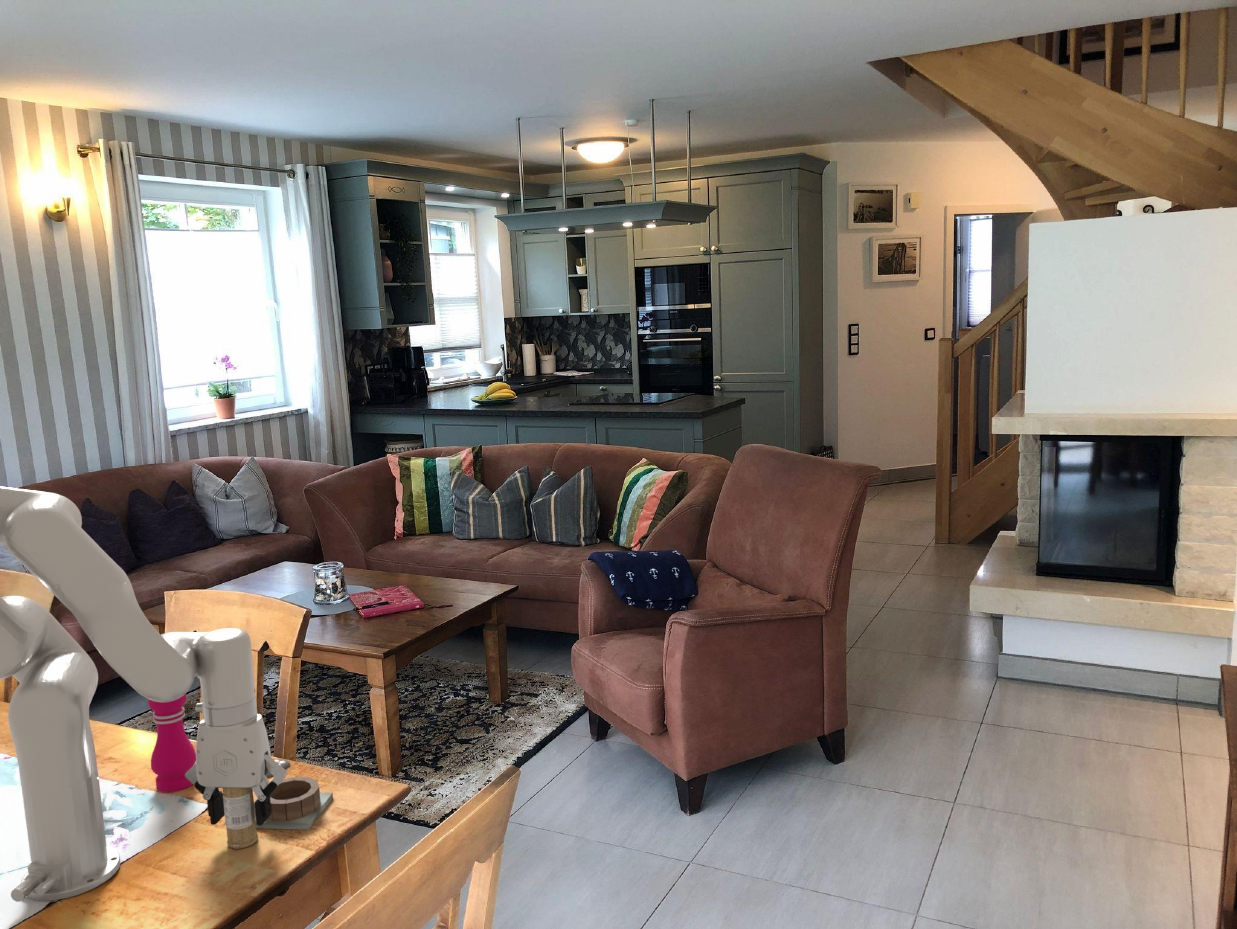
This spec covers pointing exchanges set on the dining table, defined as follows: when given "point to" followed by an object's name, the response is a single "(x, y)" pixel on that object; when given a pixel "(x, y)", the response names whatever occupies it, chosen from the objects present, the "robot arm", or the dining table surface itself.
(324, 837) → the dining table surface
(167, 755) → the pepper mill
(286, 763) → the key chain
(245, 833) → the sprinkles bottle
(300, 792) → the collar
